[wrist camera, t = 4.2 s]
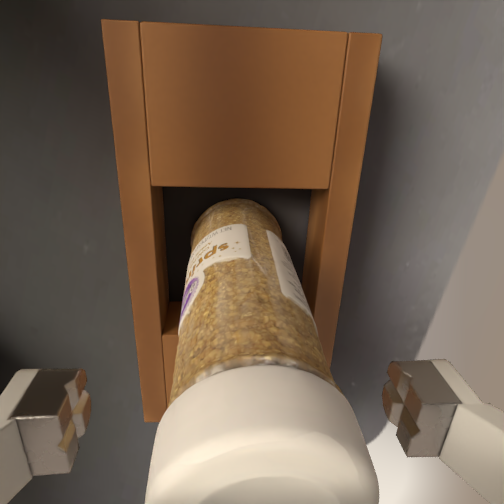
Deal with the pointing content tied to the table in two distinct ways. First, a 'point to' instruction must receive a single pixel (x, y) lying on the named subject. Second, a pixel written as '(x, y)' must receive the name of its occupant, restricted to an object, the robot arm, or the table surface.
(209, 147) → the oak rack
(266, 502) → the sprinkles bottle
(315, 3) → the table surface
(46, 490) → the table surface
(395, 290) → the table surface
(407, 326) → the table surface
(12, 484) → the robot arm
